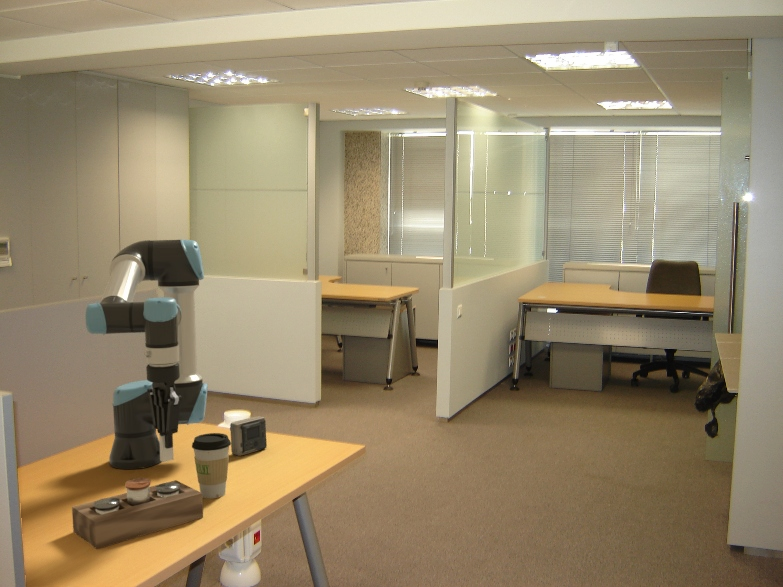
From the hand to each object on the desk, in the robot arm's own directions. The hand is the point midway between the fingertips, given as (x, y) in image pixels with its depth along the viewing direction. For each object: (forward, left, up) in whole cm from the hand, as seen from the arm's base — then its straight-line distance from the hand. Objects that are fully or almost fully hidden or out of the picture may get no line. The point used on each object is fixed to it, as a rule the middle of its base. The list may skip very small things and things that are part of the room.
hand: (166, 459), depth 194 cm
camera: (-31, +42, -14) cm, 54 cm away
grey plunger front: (0, -15, -13) cm, 20 cm away
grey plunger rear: (0, 0, -13) cm, 13 cm away
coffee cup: (-6, +15, -14) cm, 21 cm away
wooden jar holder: (0, -8, -14) cm, 16 cm away
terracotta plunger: (0, -8, -10) cm, 13 cm away
